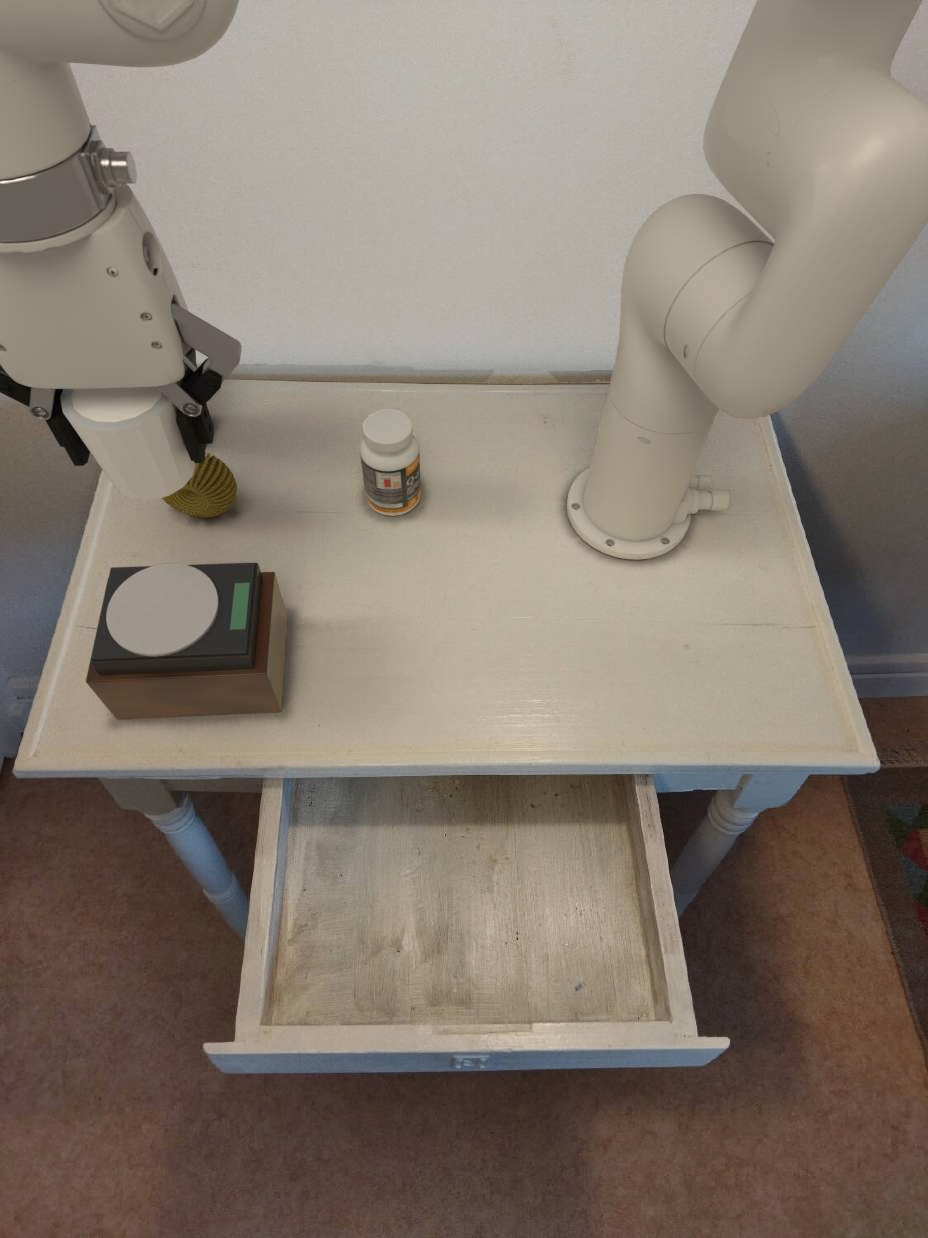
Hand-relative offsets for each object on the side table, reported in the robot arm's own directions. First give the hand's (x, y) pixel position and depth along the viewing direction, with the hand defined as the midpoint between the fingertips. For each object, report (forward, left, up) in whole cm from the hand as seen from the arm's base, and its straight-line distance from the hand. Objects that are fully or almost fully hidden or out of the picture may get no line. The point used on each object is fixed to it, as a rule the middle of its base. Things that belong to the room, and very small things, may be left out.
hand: (142, 447), depth 52 cm
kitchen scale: (+1, +3, -17) cm, 17 cm away
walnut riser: (+1, +3, -24) cm, 24 cm away
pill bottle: (-16, -16, -24) cm, 33 cm away
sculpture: (+3, -15, -24) cm, 28 cm away
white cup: (0, 0, -2) cm, 2 cm away
